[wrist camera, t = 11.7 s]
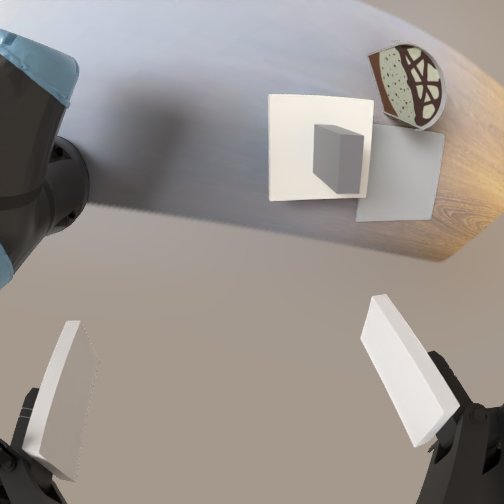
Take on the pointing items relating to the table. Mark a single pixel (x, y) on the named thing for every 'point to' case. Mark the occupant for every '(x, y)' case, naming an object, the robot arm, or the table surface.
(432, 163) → the mat
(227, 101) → the table surface
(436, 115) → the food container
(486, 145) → the table surface
